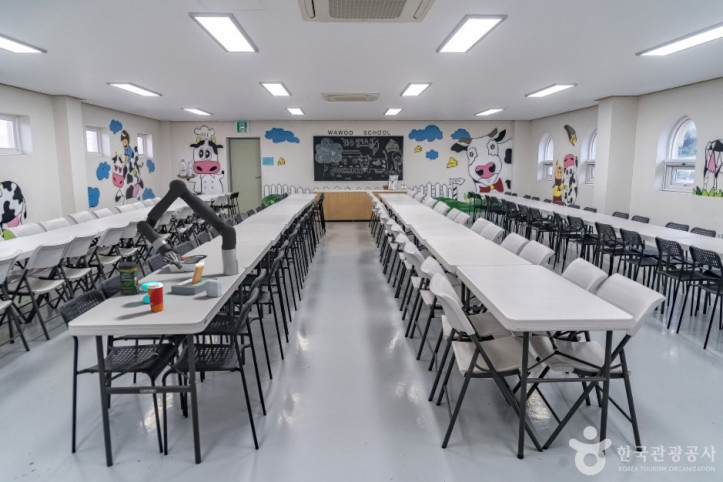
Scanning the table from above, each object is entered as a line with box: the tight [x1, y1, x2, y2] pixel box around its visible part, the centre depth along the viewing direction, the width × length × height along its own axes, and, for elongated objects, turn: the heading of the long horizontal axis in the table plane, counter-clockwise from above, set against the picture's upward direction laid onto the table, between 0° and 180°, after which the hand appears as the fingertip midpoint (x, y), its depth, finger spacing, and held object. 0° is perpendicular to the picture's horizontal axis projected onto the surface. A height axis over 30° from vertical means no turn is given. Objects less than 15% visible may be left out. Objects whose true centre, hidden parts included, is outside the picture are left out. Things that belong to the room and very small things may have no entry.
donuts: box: [140, 281, 159, 304], centre depth 248 cm, size 10×10×10 cm
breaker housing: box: [170, 276, 218, 296], centre depth 271 cm, size 16×22×4 cm
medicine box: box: [205, 279, 224, 298], centre depth 256 cm, size 8×4×9 cm, turn 71°
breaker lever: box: [191, 265, 205, 284], centre depth 270 cm, size 2×5×12 cm, turn 164°
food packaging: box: [165, 254, 208, 273], centre depth 324 cm, size 25×8×23 cm
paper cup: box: [147, 281, 164, 313], centre depth 231 cm, size 8×8×14 cm
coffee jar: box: [117, 261, 141, 296], centre depth 263 cm, size 10×8×19 cm
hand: (181, 267), depth 272 cm, fingers closed
